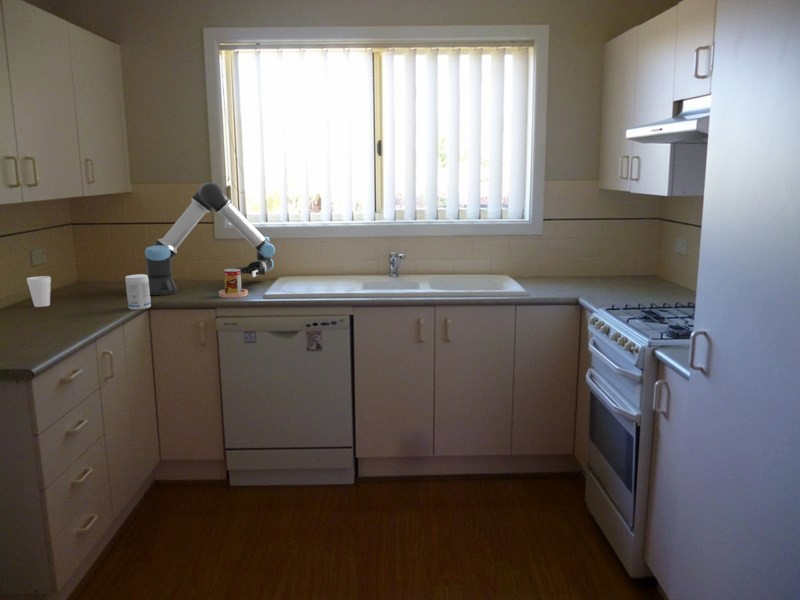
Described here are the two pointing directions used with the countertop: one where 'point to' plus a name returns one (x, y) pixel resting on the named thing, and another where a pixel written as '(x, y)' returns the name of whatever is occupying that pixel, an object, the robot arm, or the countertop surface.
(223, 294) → the terracotta dish
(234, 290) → the canned food
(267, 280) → the countertop surface
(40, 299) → the foam cup
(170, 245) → the robot arm
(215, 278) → the countertop surface
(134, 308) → the supplement tub
